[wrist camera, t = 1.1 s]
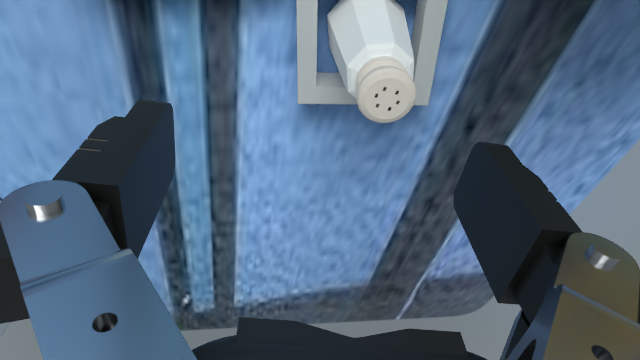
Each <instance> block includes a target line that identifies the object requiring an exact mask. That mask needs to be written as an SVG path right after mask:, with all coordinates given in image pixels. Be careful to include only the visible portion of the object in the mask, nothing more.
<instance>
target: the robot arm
mask: <svg viewBox="0 0 640 360" xmlns="http://www.w3.org/2000/svg"><path fill="white" fill-rule="evenodd" d="M174 169H175V140H174V119H173V108H172V105H171V104H170V103H164V102H156V101H147V100H138V101H137V102H136V103H135V105H134V106H133V107H132V109H131V110H130V111H129V113H128V114H127V115H126V117H116V116H115V117H113V118H111V119H109V120H107V121H105V122H103V123H101V124H99V125H97V127H96V128H95V129H94V130H93V131H92V133H91V134H90V135H89V136H88V140H85V141H84V142H83V143H82V145H81V146H80V149H79V150H78V149H77V151H76V152H75V153H74V154H73V155H72V157H71V158H70V159H69V160H68V161H67V163H66V164H65V165H64V166H63V167H62V169H61V170H60V171H59V172H58V173H57V175H56V176H55V177H54V178H53V179H52V180H50V181H42V182H36V183H33V184H29V185H26V186H24V187H21V188H19V189H17V190H15V191H13V192H12V193H10V194H9V195H8V196H6V197H5V198H4V199H3V200H2V202H1V203H0V324H2V323H7V322H13V321H18V320H23V319H28V318H30V319H31V322H32V325H33V329H34V332H35V335H36V338H37V341H38V344H39V347H40V350H41V353H42V356H43V359H44V360H487V359H485V358H483V357H481V356H478V355H476V354H473V353H471V352H468V351H466V348H465V345H464V342H463V339H462V336H461V333H460V332H449V331H435V330H420V329H404V330H398V331H393V332H388V333H382V334H377V335H371V336H366V337H360V338H352V337H348V336H344V335H341V334H337V333H334V332H330V331H328V330H324V329H321V328H317V327H314V326H311V325H307V324H304V323H301V322H297V321H287V320H272V319H257V318H242V317H239V321H238V328H237V335H234V336H229V337H224V338H221V339H218V340H214V341H211V342H208V343H206V344H204V345H201V346H199V347H197V348H195V349H193V350H191V349H190V347H189V345H188V344H187V342H186V340H185V339H184V337H183V335H182V334H181V332H180V330H179V328H178V327H177V325H176V323H175V322H174V320H173V318H172V317H171V315H170V313H169V312H168V310H167V308H166V307H165V305H164V303H163V301H162V300H161V298H160V296H159V295H158V293H157V291H156V290H155V288H154V286H153V285H152V283H151V281H150V280H149V278H148V276H147V275H146V273H145V271H144V269H143V268H142V266H141V264H140V263H139V261H138V257H139V255H140V252H141V250H142V248H143V245H144V243H145V241H146V239H147V236H148V234H149V232H150V229H151V227H152V225H153V222H154V220H155V218H156V216H157V213H158V211H159V209H160V206H161V204H162V202H163V199H164V197H165V195H166V193H167V190H168V188H169V186H170V183H171V181H172V178H173V174H174ZM556 200H557V199H556V198H555V197H554V196H553V194H552V193H551V192H548V188H547V187H546V185H545V184H544V183H543V182H542V180H541V179H540V178H539V177H538V176H537V175H536V174H534V173H533V172H532V171H530V170H529V169H528V168H526V167H525V166H523V165H522V163H521V162H520V161H519V159H518V158H517V157H516V156H515V154H514V153H513V152H512V150H511V149H510V148H509V147H508V146H507V145H501V144H493V143H485V142H478V143H476V144H475V145H474V147H473V148H472V150H471V153H470V155H469V157H468V160H467V162H466V164H465V167H464V169H463V172H462V174H461V176H460V179H459V181H458V184H457V186H456V189H455V193H454V208H455V211H456V213H457V215H458V217H459V220H460V222H461V224H462V226H463V228H464V230H465V233H466V235H467V237H468V239H469V241H470V243H471V246H472V248H473V250H474V252H475V254H476V256H477V259H478V261H479V263H480V265H481V267H482V269H483V272H484V274H485V276H486V278H487V280H488V282H489V285H490V287H491V289H492V291H493V293H494V295H495V298H496V300H497V302H498V303H506V304H519V305H520V306H521V308H522V309H521V311H520V312H519V314H518V315H517V317H516V319H515V321H514V324H513V326H512V329H511V331H510V334H509V337H508V339H507V342H506V345H505V347H504V350H503V352H502V355H501V358H500V360H640V269H639V266H638V264H637V262H636V261H635V260H634V259H633V257H632V256H631V255H630V254H628V252H626V251H625V250H624V249H623V248H621V247H620V246H618V245H617V244H615V243H613V242H612V241H610V240H608V239H605V238H603V237H601V236H598V235H595V234H591V233H584V232H582V231H581V230H580V228H579V227H578V226H577V224H576V223H575V222H574V221H573V220H572V218H571V217H570V216H569V214H568V213H567V212H566V211H565V209H564V208H563V207H562V206H561V204H560V203H559V202H556Z"/></svg>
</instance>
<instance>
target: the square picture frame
mask: <svg viewBox="0 0 640 360" xmlns="http://www.w3.org/2000/svg"><path fill="white" fill-rule="evenodd" d="M447 2H448V0H417V6H416V12H415V19H414V26H413V33H412V39H411V45H412V50H413V55H414V76H413V82H414V84H415V87H416V100H415V103H414V105H428V103H429V98H430V93H431V87H432V82H433V77H434V71H435V66H436V61H437V56H438V50H439V45H440V40H441V34H442V29H443V24H444V18H445V13H446V8H447ZM317 9H318V0H297V73H298V104H357V99H356V98H355V97H354V96H352V95H351V94H350V93H349V92H348V91H347V89H346V87H345V85H344V82H343V80H342V77H341V75H340V73H328V72H317Z"/></svg>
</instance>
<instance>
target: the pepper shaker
mask: <svg viewBox="0 0 640 360" xmlns="http://www.w3.org/2000/svg"><path fill="white" fill-rule="evenodd" d="M327 22H328V36H329V47H330V49H331V52H332V54H333V57H334V60H335V62H336V65H337V67H338V70H339V72H340V75H341V77H342V80H343V82H344V85H345V87H346V89H347V91H348V92H349V93H350V94H351V95H352V96H354V97H355V98H356V99H357V104H358V107H359V110H360V111H361V113H362V114H363V115H364V116H365V117H366V118H368V119H369V120H371V121H374V122H378V123H390V122H394V121H397V120H399V119H400V118H402V117H404V116H405V115H406V114H407V113H408V112H409V111H410V110H411V108H412V107H413V105H414V103H415V100H416V87H415V84H414V82H413V76H414V55H413V50H412V45H411V41H410V36H409V32H408V27H407V22H406V18H405V13H404V9H403V7H402V6H401V5H400V4H398V3H397V2H396V1H395V0H339V1H338V2H337V4H336V5H335V6H334V7H333V8H332V10H331V11H330V12H329V13H328V14H327Z"/></svg>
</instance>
